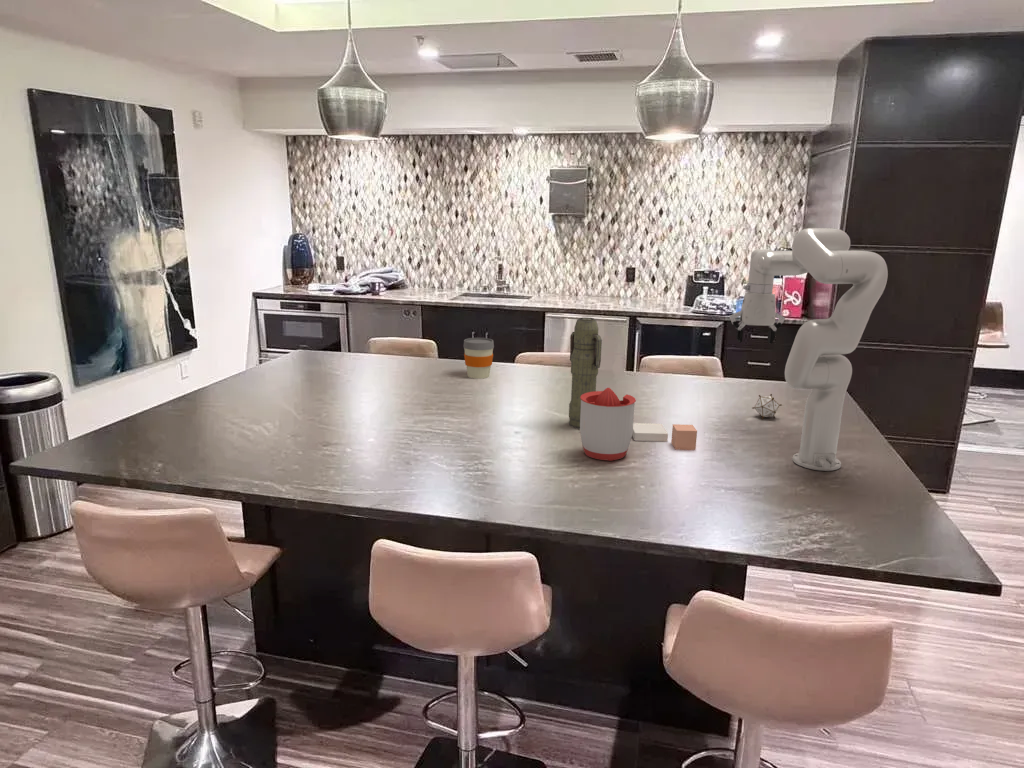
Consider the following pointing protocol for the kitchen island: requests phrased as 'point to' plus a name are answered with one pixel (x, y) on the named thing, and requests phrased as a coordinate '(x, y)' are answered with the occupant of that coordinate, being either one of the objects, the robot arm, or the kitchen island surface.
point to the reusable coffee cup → (478, 357)
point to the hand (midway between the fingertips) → (754, 342)
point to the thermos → (583, 364)
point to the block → (649, 432)
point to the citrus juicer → (606, 424)
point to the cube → (684, 437)
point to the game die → (766, 406)
